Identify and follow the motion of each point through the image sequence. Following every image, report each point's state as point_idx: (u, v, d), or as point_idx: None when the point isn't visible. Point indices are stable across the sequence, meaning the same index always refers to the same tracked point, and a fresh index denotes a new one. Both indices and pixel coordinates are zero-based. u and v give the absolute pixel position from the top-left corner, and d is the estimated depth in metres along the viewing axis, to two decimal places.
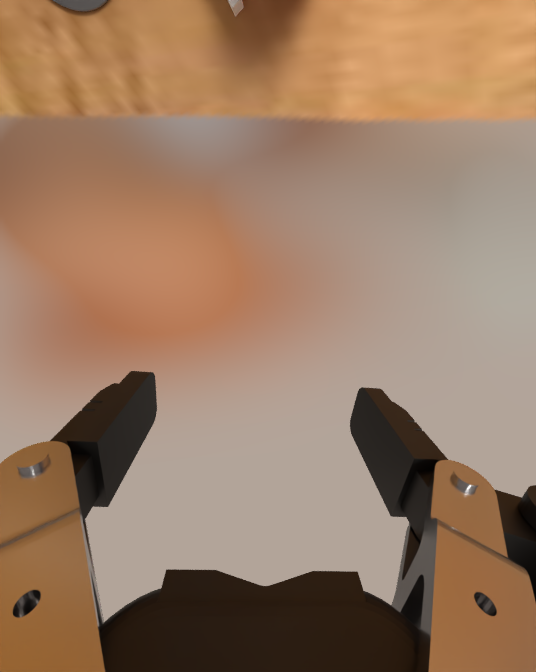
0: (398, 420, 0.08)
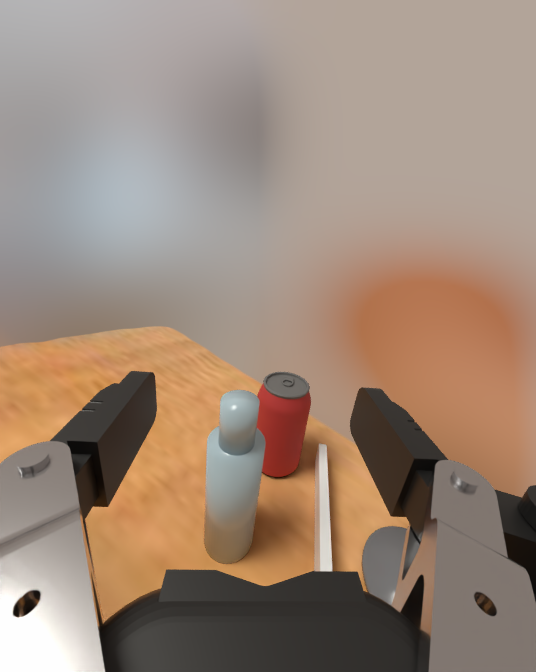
0: (398, 420, 0.08)
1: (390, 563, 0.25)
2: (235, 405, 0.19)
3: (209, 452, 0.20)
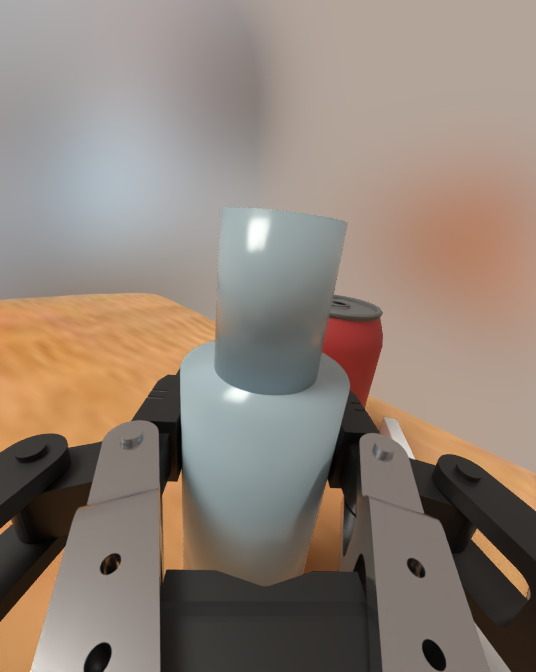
0: None
1: None
2: None
3: (185, 387, 0.06)
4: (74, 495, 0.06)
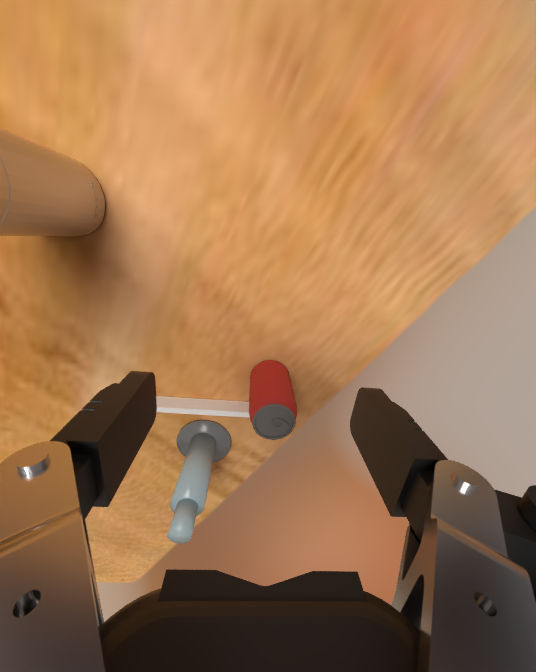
0: (398, 420, 0.08)
1: (210, 433, 0.48)
2: (174, 534, 0.33)
3: (175, 496, 0.37)
4: None
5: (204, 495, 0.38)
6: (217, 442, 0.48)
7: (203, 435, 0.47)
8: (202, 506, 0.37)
